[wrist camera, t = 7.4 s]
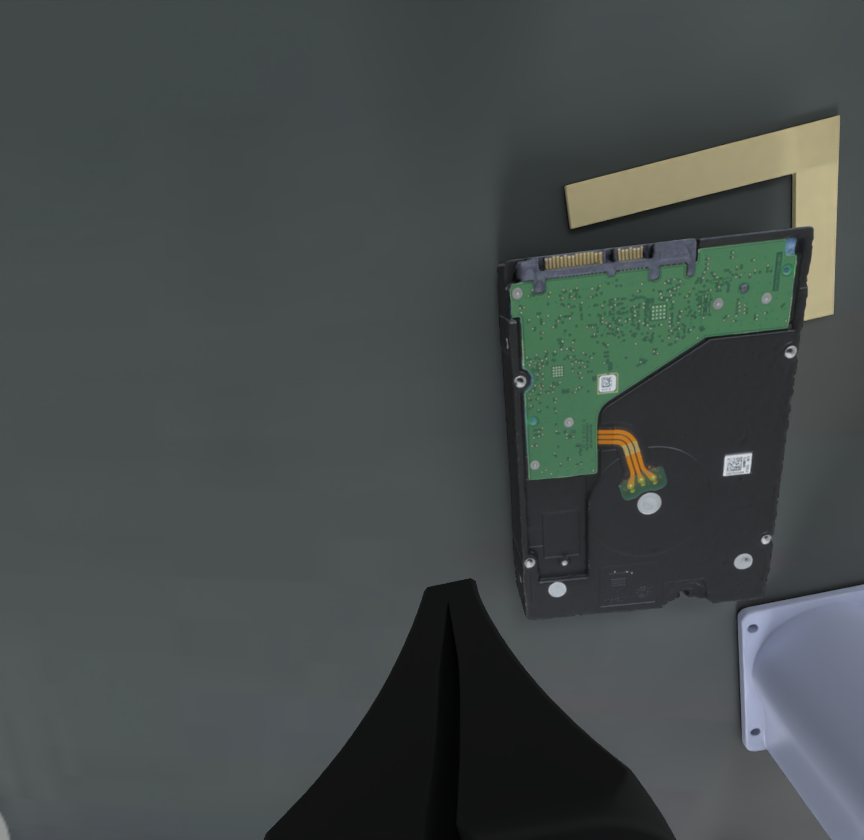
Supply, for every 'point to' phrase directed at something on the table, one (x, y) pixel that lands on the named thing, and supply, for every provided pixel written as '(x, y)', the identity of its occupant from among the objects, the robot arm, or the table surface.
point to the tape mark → (730, 168)
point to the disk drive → (649, 417)
